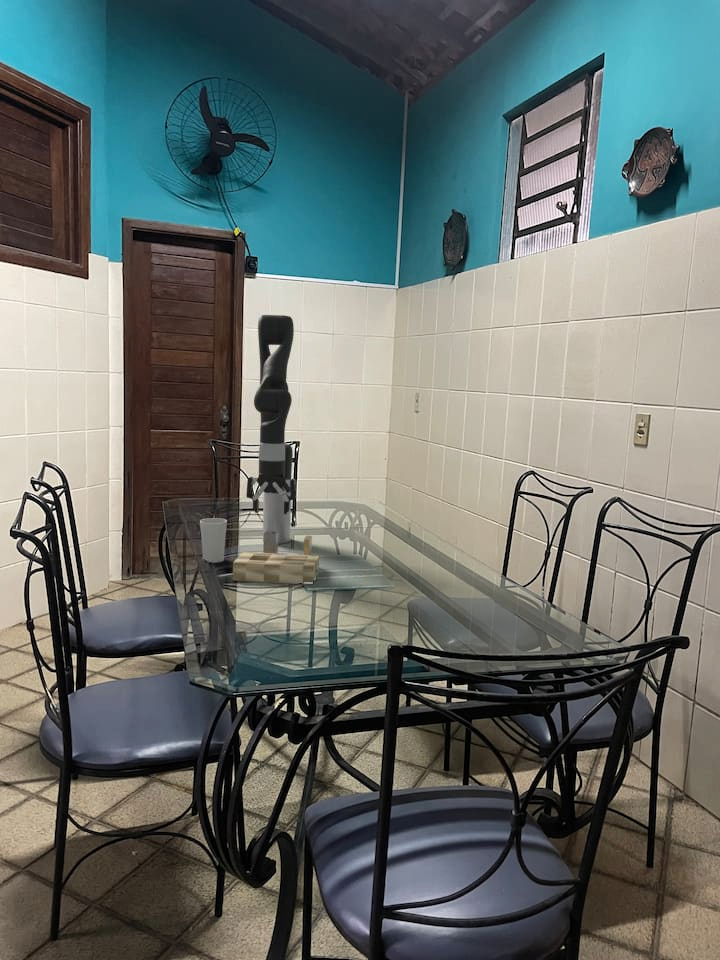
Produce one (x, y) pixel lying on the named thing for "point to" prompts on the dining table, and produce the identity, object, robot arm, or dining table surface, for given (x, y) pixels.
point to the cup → (213, 539)
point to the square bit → (270, 542)
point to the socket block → (275, 567)
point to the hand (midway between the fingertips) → (271, 513)
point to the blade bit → (307, 545)
